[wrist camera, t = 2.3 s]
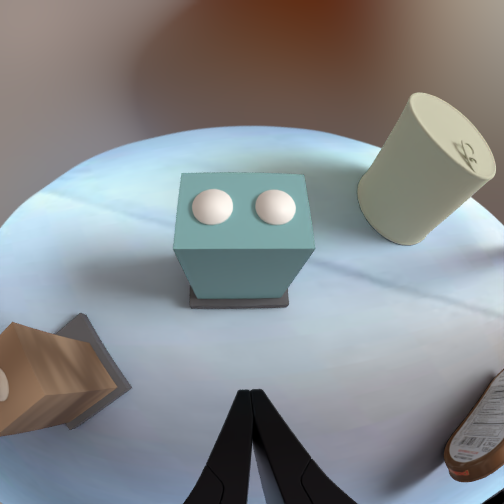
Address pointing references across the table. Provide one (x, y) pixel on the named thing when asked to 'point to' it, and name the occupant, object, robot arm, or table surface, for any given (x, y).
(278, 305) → the socket
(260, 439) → the robot arm
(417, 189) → the can
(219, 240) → the teal block
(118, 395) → the socket
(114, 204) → the table surface
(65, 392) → the brown box
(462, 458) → the tin
